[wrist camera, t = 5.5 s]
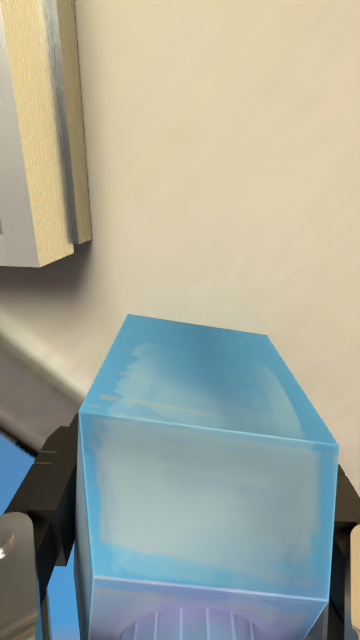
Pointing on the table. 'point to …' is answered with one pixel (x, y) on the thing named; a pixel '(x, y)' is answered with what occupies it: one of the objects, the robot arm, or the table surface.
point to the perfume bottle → (201, 490)
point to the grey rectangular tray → (41, 134)
